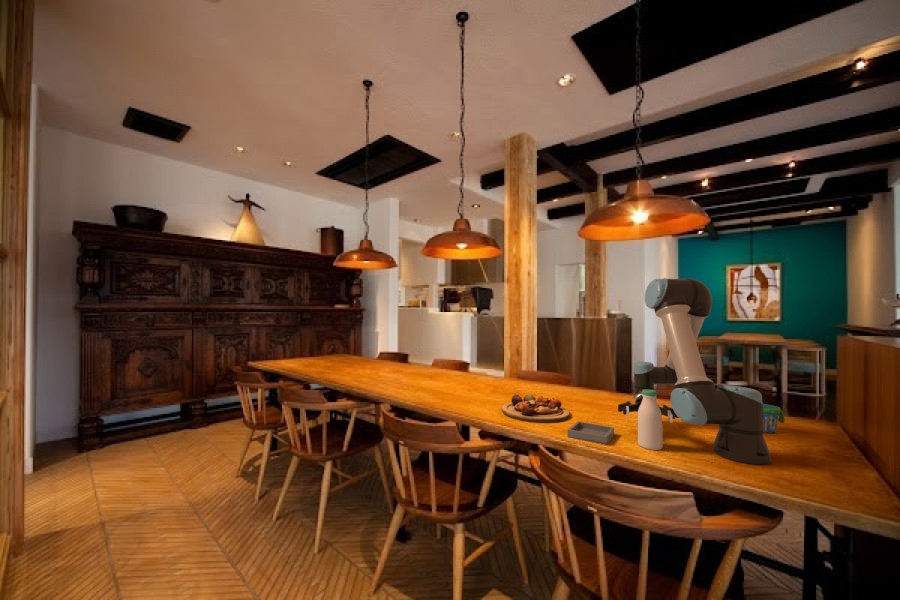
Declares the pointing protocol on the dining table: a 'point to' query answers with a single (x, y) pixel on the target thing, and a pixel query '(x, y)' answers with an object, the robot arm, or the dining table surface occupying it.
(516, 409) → the wooden plate with food
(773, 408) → the snack cup
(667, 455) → the dining table surface
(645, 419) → the milk bottle
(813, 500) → the dining table surface
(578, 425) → the bottle tray
